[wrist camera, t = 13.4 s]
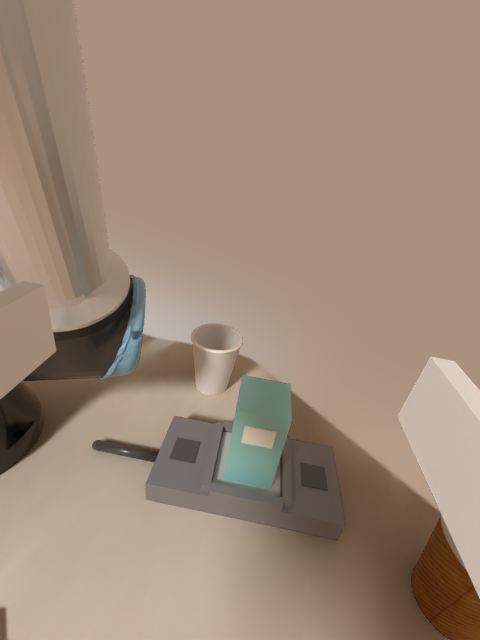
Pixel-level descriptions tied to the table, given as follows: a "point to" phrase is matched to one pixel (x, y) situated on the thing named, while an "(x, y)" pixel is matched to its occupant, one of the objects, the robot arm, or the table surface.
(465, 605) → the disposable coffee cup
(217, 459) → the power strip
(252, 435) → the teal tall block
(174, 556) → the table surface
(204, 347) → the dixie cup
